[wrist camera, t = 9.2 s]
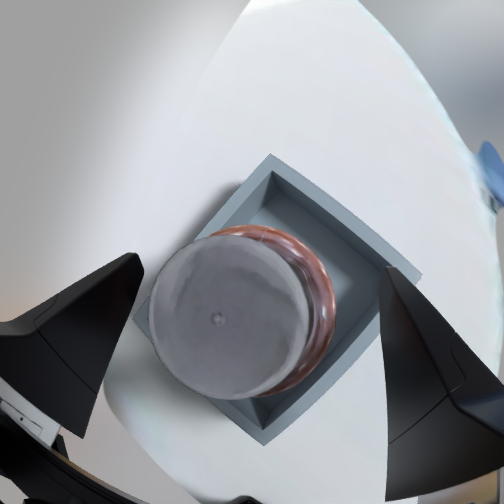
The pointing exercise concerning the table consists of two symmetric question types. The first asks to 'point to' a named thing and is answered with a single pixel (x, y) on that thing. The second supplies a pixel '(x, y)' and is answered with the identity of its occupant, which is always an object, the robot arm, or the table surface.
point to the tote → (337, 266)
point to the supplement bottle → (242, 313)
